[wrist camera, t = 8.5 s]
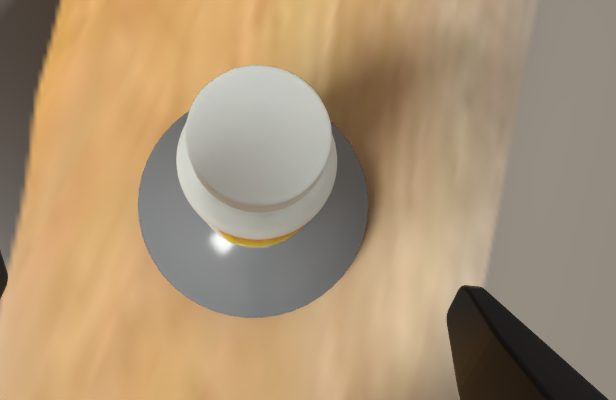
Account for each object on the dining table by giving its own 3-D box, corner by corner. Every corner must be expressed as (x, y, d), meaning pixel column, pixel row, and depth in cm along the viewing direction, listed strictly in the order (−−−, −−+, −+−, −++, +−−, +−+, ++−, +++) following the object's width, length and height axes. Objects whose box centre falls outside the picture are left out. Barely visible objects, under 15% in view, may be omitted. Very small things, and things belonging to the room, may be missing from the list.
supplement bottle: (177, 200, 21) (110, 139, 11) (251, 119, 22) (247, 2, 12) (264, 273, 21) (270, 273, 11) (335, 188, 22) (394, 123, 12)
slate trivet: (358, 322, 22) (362, 324, 21) (128, 308, 21) (122, 310, 20) (368, 111, 24) (373, 104, 23) (158, 88, 23) (154, 80, 22)
